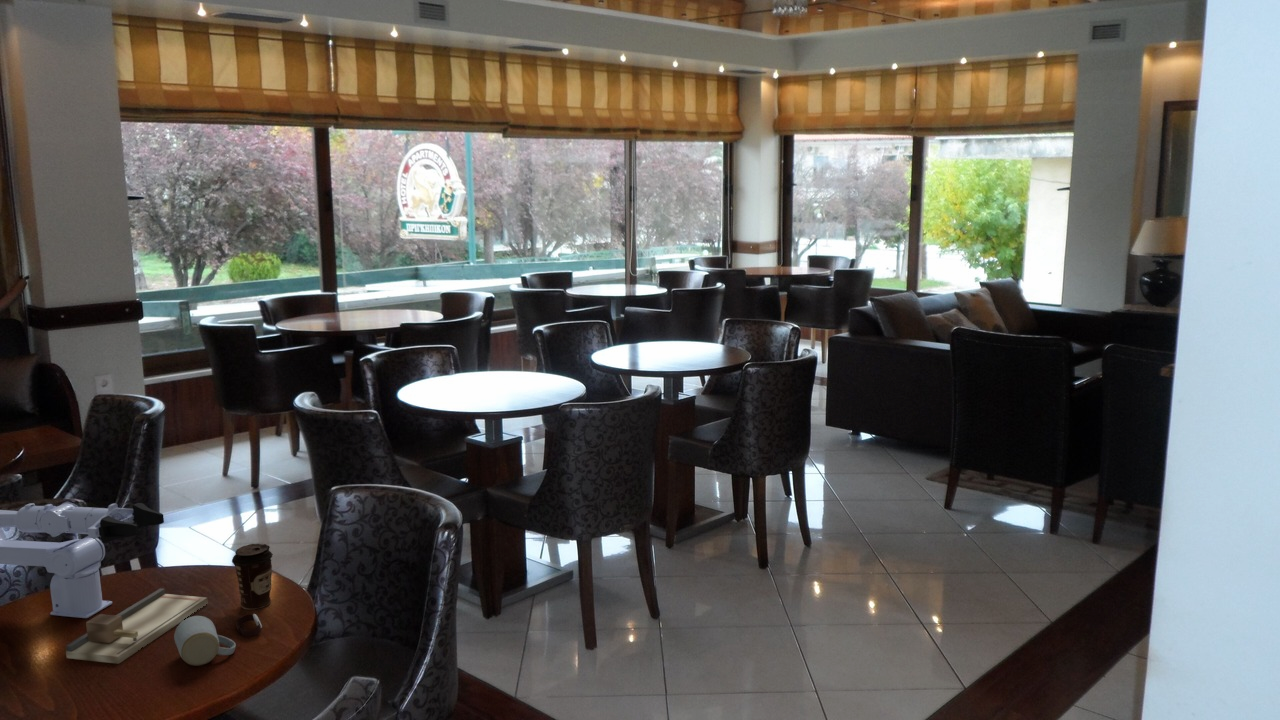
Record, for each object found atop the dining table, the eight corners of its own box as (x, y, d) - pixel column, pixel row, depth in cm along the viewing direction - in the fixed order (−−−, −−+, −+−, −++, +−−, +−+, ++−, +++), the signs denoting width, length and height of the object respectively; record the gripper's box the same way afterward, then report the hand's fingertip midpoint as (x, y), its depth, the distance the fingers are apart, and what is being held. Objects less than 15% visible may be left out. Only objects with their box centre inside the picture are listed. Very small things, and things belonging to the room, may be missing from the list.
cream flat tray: (66, 658, 200) (65, 645, 200) (160, 599, 227) (159, 588, 227) (118, 663, 198) (117, 651, 197) (207, 603, 225) (206, 592, 224)
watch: (267, 634, 210) (265, 618, 209) (243, 641, 207) (242, 625, 206) (255, 622, 216) (254, 606, 215) (233, 628, 213) (231, 612, 213)
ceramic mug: (182, 672, 194) (179, 635, 193) (175, 655, 201) (172, 619, 200) (240, 658, 200) (237, 622, 198) (231, 642, 207) (229, 607, 205)
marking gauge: (88, 640, 203) (85, 622, 203) (102, 632, 207) (100, 613, 207) (129, 645, 201) (127, 626, 201) (143, 636, 205) (141, 617, 204)
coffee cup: (284, 596, 228) (279, 542, 225) (267, 612, 220) (262, 556, 217) (247, 595, 229) (242, 541, 226) (229, 611, 221) (223, 555, 218)
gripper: (67, 513, 209) (122, 516, 206) (118, 493, 223) (171, 496, 220) (71, 546, 210) (126, 549, 207) (122, 524, 224) (174, 527, 221)
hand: (150, 524), depth 214 cm, fingers open, 7 cm apart
